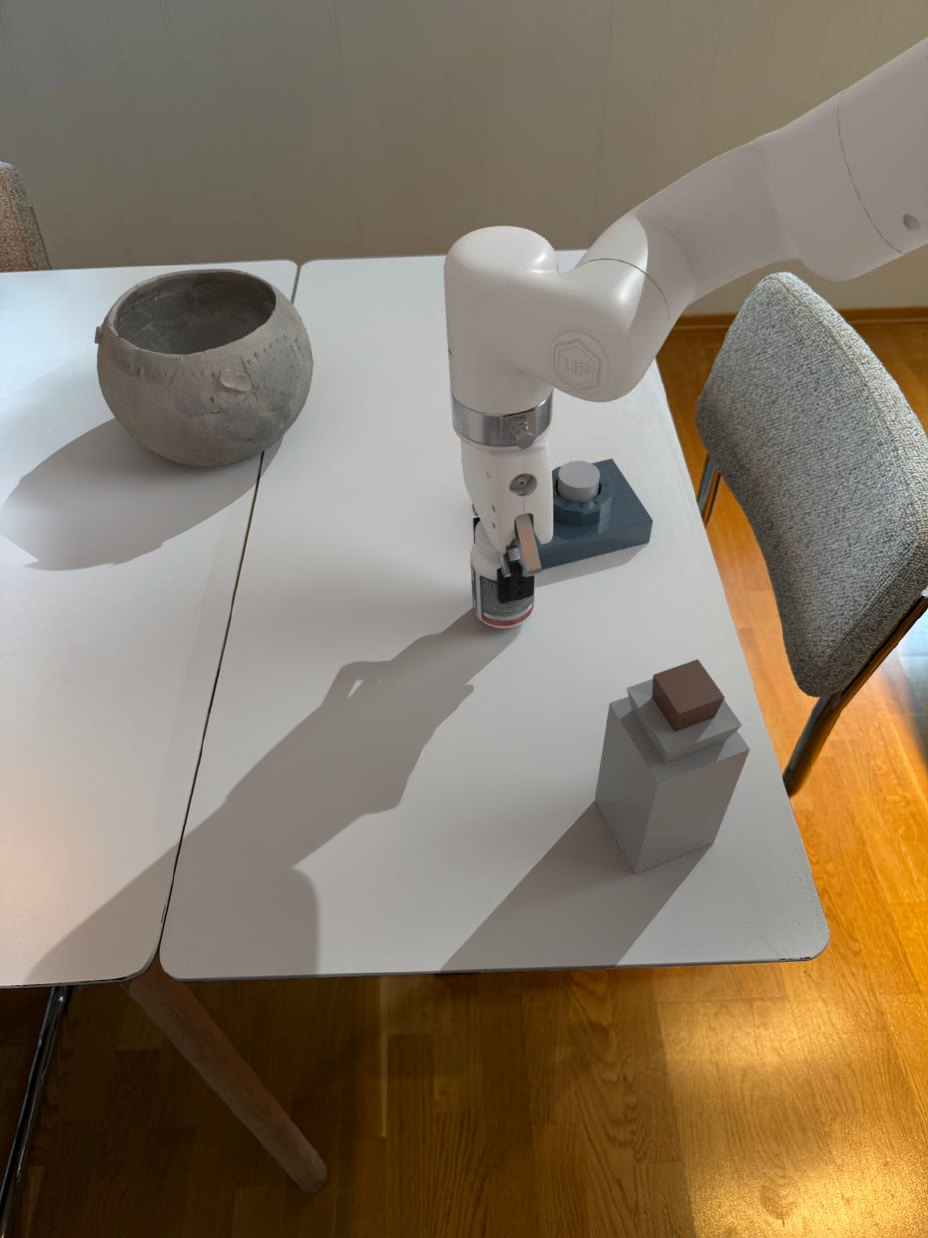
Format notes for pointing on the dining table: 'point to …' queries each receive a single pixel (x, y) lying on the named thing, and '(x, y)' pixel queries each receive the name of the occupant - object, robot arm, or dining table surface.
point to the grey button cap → (578, 481)
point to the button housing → (595, 520)
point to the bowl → (204, 365)
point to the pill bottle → (493, 585)
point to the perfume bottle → (669, 765)
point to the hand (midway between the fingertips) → (503, 570)
